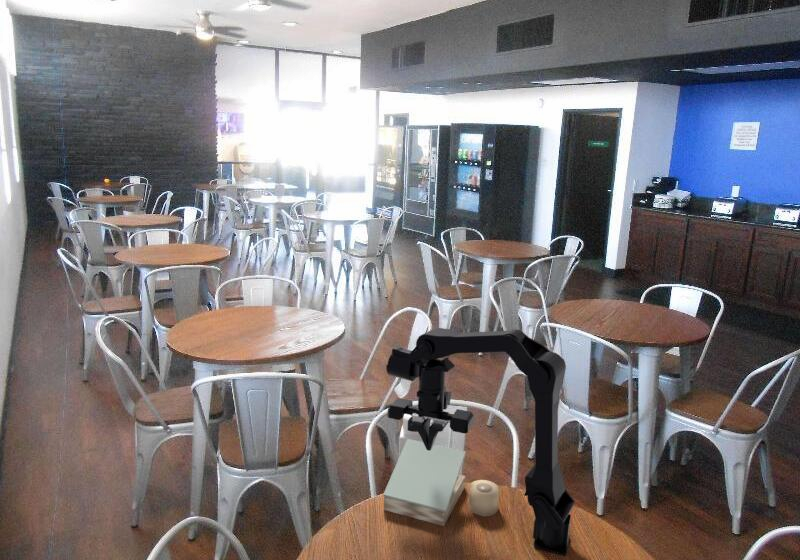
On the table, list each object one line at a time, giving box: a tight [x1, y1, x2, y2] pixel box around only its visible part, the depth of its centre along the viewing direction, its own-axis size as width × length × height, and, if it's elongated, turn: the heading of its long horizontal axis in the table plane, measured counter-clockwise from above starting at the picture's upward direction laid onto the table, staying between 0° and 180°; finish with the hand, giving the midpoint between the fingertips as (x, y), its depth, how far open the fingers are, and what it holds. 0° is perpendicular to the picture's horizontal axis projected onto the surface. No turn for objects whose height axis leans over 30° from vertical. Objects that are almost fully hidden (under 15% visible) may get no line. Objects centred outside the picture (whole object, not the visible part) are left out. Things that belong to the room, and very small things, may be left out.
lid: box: [383, 439, 467, 513], centre depth 134 cm, size 14×16×1 cm
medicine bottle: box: [398, 414, 423, 458], centre depth 152 cm, size 7×7×12 cm
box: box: [383, 474, 466, 527], centre depth 135 cm, size 14×16×3 cm
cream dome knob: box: [468, 479, 500, 517], centre depth 132 cm, size 6×6×5 cm
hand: (429, 449), depth 134 cm, fingers closed
